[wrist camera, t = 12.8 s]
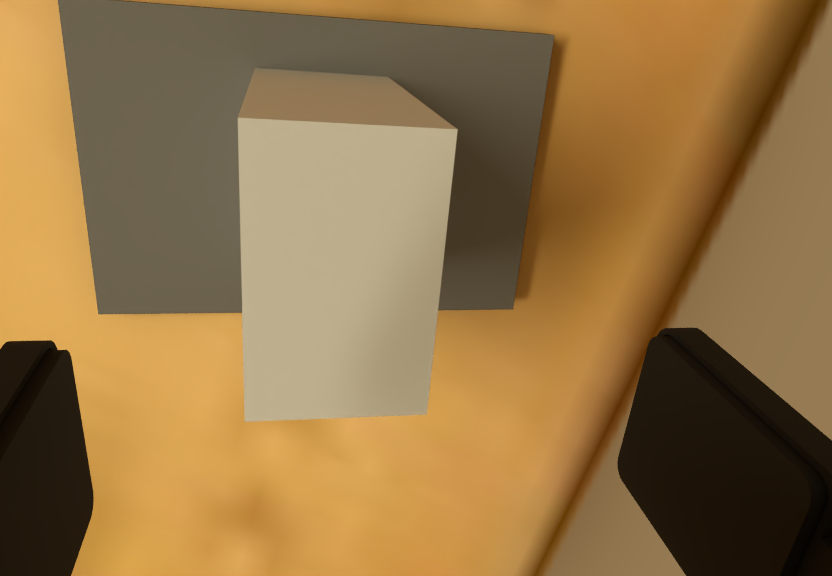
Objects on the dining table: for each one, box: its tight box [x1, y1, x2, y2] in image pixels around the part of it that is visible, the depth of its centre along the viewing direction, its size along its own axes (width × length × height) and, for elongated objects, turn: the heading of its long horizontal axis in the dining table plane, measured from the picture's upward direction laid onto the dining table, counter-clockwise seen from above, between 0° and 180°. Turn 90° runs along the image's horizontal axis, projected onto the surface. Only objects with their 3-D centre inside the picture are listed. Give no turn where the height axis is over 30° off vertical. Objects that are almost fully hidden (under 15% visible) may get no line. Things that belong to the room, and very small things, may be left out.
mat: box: [58, 0, 554, 314], centre depth 27 cm, size 12×18×1 cm, turn 85°
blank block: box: [238, 68, 458, 422], centre depth 21 cm, size 8×5×11 cm, turn 175°
